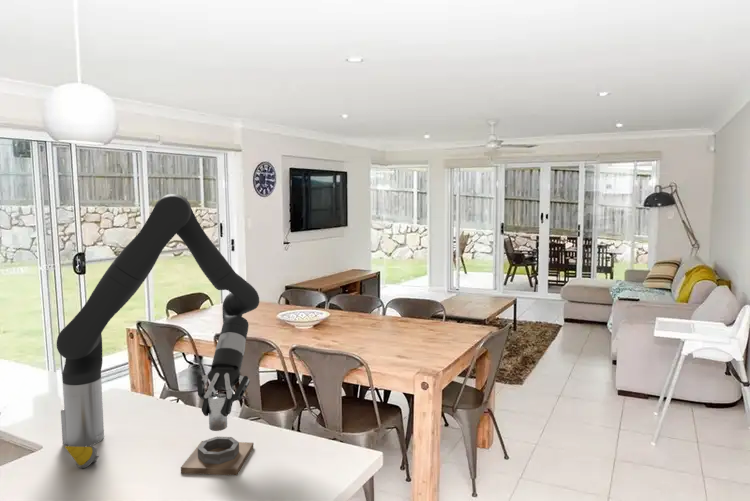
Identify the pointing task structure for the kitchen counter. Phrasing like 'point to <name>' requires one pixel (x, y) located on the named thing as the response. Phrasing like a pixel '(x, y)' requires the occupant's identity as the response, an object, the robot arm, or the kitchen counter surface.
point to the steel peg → (217, 412)
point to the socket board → (218, 457)
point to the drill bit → (83, 455)
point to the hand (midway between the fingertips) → (215, 414)
